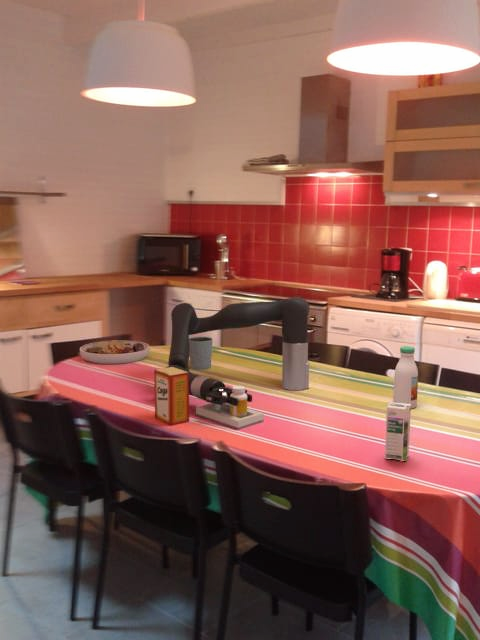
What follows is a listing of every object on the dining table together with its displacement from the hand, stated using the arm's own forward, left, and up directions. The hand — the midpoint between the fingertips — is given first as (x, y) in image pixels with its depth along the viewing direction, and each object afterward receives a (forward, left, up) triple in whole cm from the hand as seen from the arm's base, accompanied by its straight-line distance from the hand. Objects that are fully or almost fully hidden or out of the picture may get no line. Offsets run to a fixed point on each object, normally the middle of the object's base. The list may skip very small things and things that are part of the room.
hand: (244, 400), depth 205 cm
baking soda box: (+22, -7, -7) cm, 24 cm away
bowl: (+41, -98, -8) cm, 106 cm away
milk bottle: (-56, -10, -7) cm, 58 cm away
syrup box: (-35, +34, -7) cm, 50 cm away
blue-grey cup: (+6, -74, -7) cm, 75 cm away
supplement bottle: (+1, -2, -6) cm, 7 cm away
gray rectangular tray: (+4, -6, -7) cm, 10 cm away
